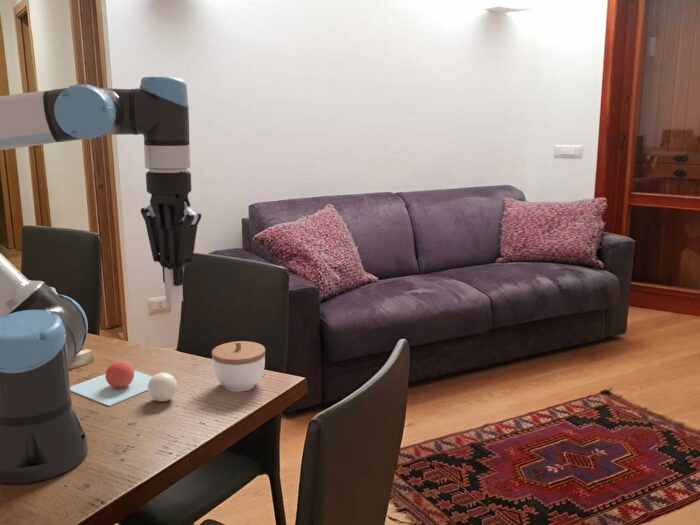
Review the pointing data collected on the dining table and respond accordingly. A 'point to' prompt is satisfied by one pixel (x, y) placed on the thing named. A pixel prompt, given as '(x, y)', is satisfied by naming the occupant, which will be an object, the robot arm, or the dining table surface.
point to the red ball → (119, 374)
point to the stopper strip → (82, 358)
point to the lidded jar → (239, 364)
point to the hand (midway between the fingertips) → (174, 302)
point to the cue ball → (162, 386)
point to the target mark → (111, 389)
